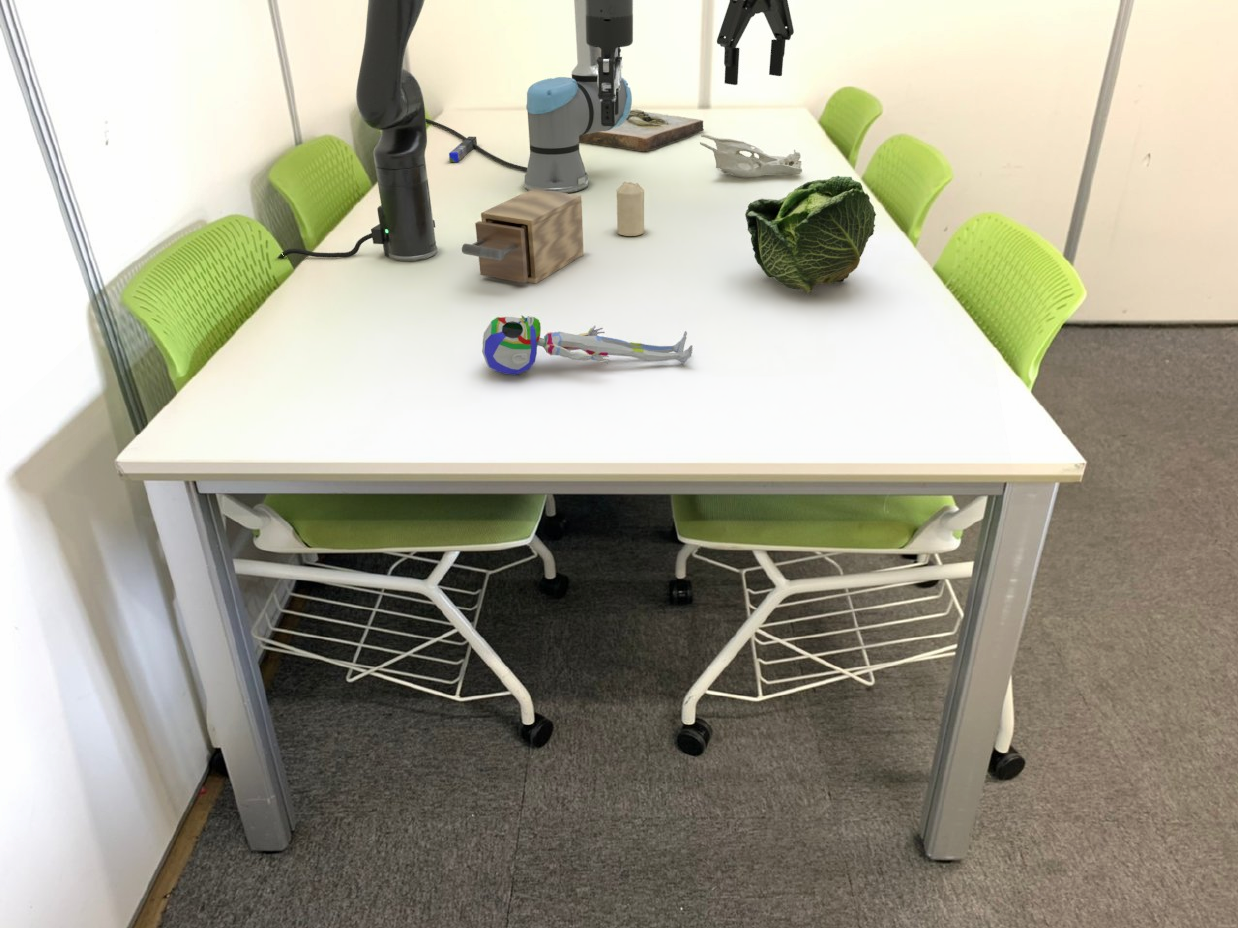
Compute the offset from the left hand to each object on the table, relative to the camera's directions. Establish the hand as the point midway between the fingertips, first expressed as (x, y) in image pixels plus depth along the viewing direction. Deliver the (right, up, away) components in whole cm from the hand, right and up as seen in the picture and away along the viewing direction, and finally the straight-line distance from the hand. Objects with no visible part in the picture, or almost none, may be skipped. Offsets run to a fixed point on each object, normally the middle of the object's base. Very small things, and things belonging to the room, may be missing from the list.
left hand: (610, 120), depth 150 cm
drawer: (-17, -22, +14) cm, 31 cm away
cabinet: (-14, -20, +19) cm, 31 cm away
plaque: (+6, +37, +109) cm, 116 cm away
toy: (-3, -43, -18) cm, 47 cm away
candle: (+4, -10, +34) cm, 36 cm away
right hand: (+28, +19, +28) cm, 44 cm away
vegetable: (+35, -26, +9) cm, 44 cm away
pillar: (-41, +27, +94) cm, 106 cm away
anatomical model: (+34, +14, +71) cm, 80 cm away
